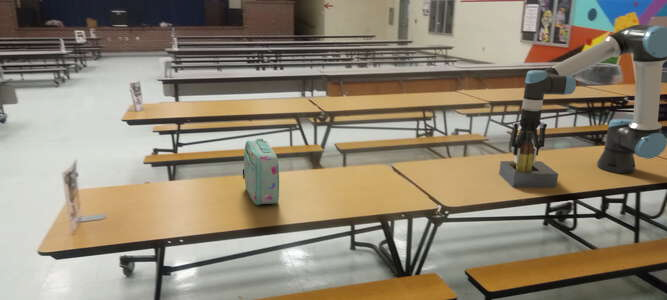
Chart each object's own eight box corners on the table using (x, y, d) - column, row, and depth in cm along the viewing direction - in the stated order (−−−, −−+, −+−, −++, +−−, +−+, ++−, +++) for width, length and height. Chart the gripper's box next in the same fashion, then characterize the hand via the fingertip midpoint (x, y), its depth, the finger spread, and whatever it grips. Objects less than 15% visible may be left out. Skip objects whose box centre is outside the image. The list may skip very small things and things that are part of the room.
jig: (539, 174, 208) (541, 161, 206) (556, 187, 193) (558, 173, 191) (499, 173, 208) (500, 161, 206) (512, 187, 192) (514, 173, 191)
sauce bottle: (528, 173, 202) (535, 128, 196) (532, 178, 196) (539, 132, 190) (512, 172, 203) (518, 128, 197) (516, 177, 197) (523, 132, 191)
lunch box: (241, 185, 192) (239, 135, 186) (266, 182, 196) (264, 132, 189) (254, 211, 168) (252, 154, 162) (282, 207, 172) (281, 151, 165)
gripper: (550, 107, 195) (542, 159, 201) (505, 106, 194) (498, 159, 201) (559, 111, 187) (550, 165, 194) (511, 110, 187) (504, 165, 194)
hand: (524, 162), depth 198 cm, fingers closed on sauce bottle, 6 cm apart
